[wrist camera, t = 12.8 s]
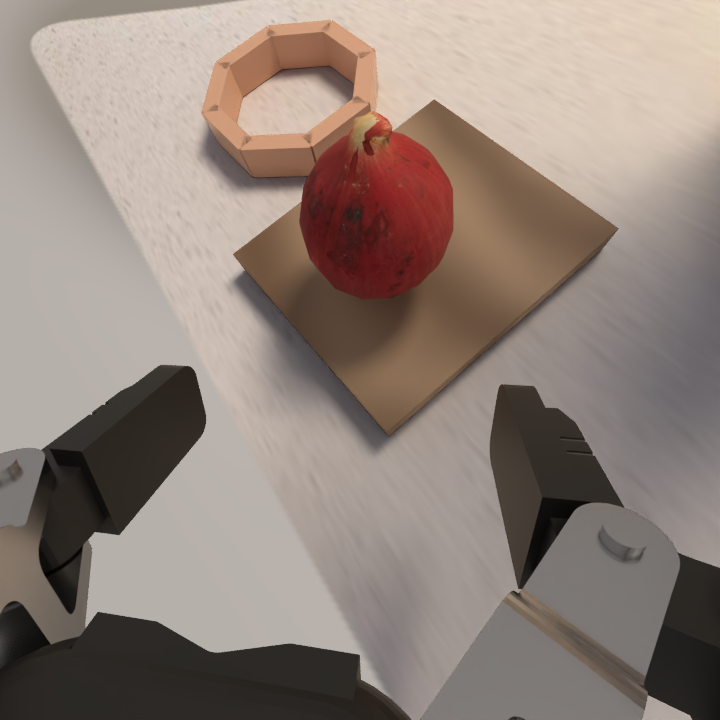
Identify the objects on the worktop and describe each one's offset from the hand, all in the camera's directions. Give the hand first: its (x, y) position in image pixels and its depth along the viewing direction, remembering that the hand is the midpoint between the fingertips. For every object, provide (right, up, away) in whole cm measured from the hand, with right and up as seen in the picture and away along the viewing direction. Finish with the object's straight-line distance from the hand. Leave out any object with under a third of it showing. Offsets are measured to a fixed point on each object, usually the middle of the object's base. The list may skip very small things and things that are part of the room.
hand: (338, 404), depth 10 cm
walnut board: (+3, +6, +10) cm, 12 cm away
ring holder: (-3, +17, +14) cm, 22 cm away
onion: (+2, +5, +8) cm, 10 cm away
